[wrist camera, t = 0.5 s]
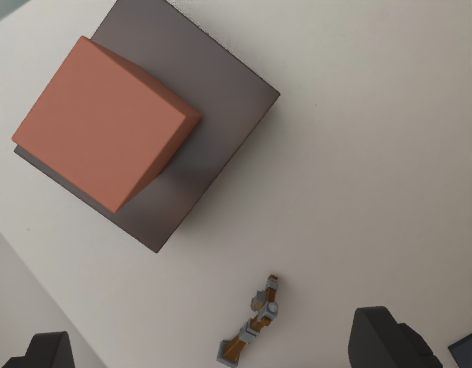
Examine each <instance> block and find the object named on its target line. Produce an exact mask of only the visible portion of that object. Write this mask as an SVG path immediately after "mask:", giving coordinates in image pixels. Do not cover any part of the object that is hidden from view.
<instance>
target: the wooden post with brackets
mask: <svg viewBox="0 0 472 368" xmlns="http://www.w3.org/2000/svg"><path fill="white" fill-rule="evenodd" d="M277 279H278V278H277V277H275V276H274V275H272V274H271V275H270V276H269V278H268V281H267V284H266V288H265V291H266V292H265V291H263V292H260V291H257V295H256V297H255V298H252V302H251V309H252V310H253V311H258V315H257V316H256V317H254V318H253V319H251V318H250V319H249V320H248V322H247V323H246V324H245V326H244V327H243V328H241V329H240V333H239V334H238V335H237V336H236V337H235V338H234V339H232V340H231V341H230V342H226V341H224V340H223V342H221V344H220V348H219V352H218V356H217V360H216V361H218V362H220V363H222V364H224V365H227V366H229V367H231V368H236V367H237V366H238V361H239V356H240V353H241V351H242V349H243V348H244V346H245V345H246V344H247V343H248V344H250V342H251V341H252V340H253V339H254V338H256V336H257V335H258V334H260V330H261V329H262V328H263V327H264V326H268V325H269V324H270V323H271V321H272V320H274V319H275V318H277V312H278V305H277V303H275V302H274V298H275V292H276V291H277V286H278V284H277Z"/></svg>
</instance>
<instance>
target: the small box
mask: <svg viewBox="0 0 472 368" xmlns="http://www.w3.org/2000/svg"><path fill="white" fill-rule="evenodd" d="M201 117H202V115H201V114H200V113H199V112H197V111H196V110H195V109H193V108H192V107H191V106H190V105H188V104H187V103H186V102H184V101H183V100H182V99H181V98H179V97H178V96H177V95H175V94H174V93H173V92H172V91H170V90H169V89H168V88H166V87H165V86H164V85H163V84H161V83H160V82H159V81H157V80H156V79H155V78H154V77H152V76H151V75H150V74H149V73H147V72H146V71H145V70H143V69H142V68H141V67H140V66H138V65H137V64H135V63H133V62H131V61H129V60H128V59H126V58H124V57H122V56H120V55H118V54H116V53H114V52H113V51H111V50H109V49H107V48H105V47H103V46H101V45H100V44H98V43H96V42H94V41H92V40H90V39H88V38H87V37H85V36H81V37H80V38H79V40H78V41H77V43H76V44H75V46H74V47H73V49H72V50H71V52H70V53H69V54H68V56H67V57H66V59H65V60H64V62H63V63H62V65H61V66H60V68H59V69H58V71H57V72H56V74H55V75H54V76H53V78H52V79H51V81H50V82H49V84H48V85H47V87H46V88H45V90H44V91H43V93H42V94H41V96H40V97H39V98H38V100H37V101H36V103H35V104H34V106H33V107H32V109H31V110H30V112H29V113H28V115H27V116H26V118H25V119H24V120H23V122H22V123H21V125H20V126H19V128H18V129H17V131H16V132H15V134H14V135H13V137H12V138H11V139H12V141H14V142H15V143H17V144H18V145H19V146H21V147H22V148H23V149H25V150H26V151H28V152H29V153H30V154H32V155H33V156H35V157H36V158H37V159H39V160H40V161H42V162H43V163H44V164H46V165H47V166H49V167H50V168H51V169H53V170H54V171H56V172H57V173H58V174H60V175H61V176H62V177H64V178H65V179H67V180H68V181H69V182H71V183H72V184H74V185H75V186H76V187H78V188H79V189H81V190H82V191H83V192H85V193H86V194H88V195H89V196H90V197H92V198H93V199H95V200H96V201H97V202H99V203H100V204H101V205H103V206H104V207H106V208H107V209H108V210H110V211H111V212H113V213H117V212H118V211H119V210H120V209H121V208H122V207H123V206H125V205H126V204H127V203H128V202H129V201H130V200H131V199H133V198H134V197H135V196H136V195H137V194H138V193H139V192H141V191H142V190H143V189H144V188H145V187H146V186H147V185H149V184H150V183H151V182H152V181H153V180H154V179H155V178H156V177H157V176H158V175H159V173H160V172H161V171H162V169H163V168H164V167H165V165H166V164H167V163H168V161H169V160H170V159H171V157H172V156H173V155H174V153H175V152H176V151H177V149H178V148H179V147H180V145H181V144H182V143H183V141H184V140H185V139H186V137H187V136H188V135H189V133H190V132H191V131H192V129H193V128H194V127H195V125H196V124H197V123H198V121H199V120H200V119H201Z"/></svg>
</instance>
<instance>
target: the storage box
mask: <svg viewBox="0 0 472 368" xmlns="http://www.w3.org/2000/svg"><path fill="white" fill-rule="evenodd" d="M90 40H92V41H94V42H96V43H98V44H100V45H101V46H103V47H105V48H107V49H109V50H111V51H113V52H114V53H116V54H118V55H120V56H122V57H124V58H126V59H128V60H129V61H131V62H133V63H135V64H137V65H138V66H140V67H141V68H142V69H143V70H145V71H146V72H147V73H149V74H150V75H151V76H152V77H154V78H155V79H156V80H157V81H159V82H160V83H161V84H163V85H164V86H165V87H166V88H168V89H169V90H170V91H172V92H173V93H174V94H175V95H177V96H178V97H179V98H181V99H182V100H183V101H184V102H186V103H187V104H188V105H190V106H191V107H192V108H193V109H195V110H196V111H197V112H199V113H200V114H201V115H202V117H201V119H200V120H199V121H198V123H197V124H196V125H195V127H194V128H193V129H192V131H191V132H190V133H189V135H188V136H187V137H186V139H185V140H184V141H183V143H182V144H181V145H180V147H179V148H178V149H177V151H176V152H175V153H174V155H173V156H172V157H171V159H170V160H169V161H168V163H167V164H166V165H165V167H164V168H163V169H162V171H161V172H160V173H159V175H158V176H157V177H156V178H155V179H154V180H153V181H152V182H151V183H150V184H149V185H147V186H146V187H145V188H144V189H143V190H142V191H141V192H139V193H138V194H137V195H136V196H135V197H134V198H133V199H131V200H130V201H129V202H128V203H127V204H126V205H125V206H123V207H122V208H121V209H120V210H119V211H118V212H117V213H113V212H111V211H110V210H108V209H107V208H106V207H104V206H103V205H101V204H100V203H99V202H97V201H96V200H95V199H93V198H92V197H90V196H89V195H88V194H86V193H85V192H83V191H82V190H81V189H79V188H78V187H76V186H75V185H74V184H72V183H71V182H69V181H68V180H67V179H65V178H64V177H62V176H61V175H60V174H58V173H57V172H56V171H54V170H53V169H51V168H50V167H49V166H47V165H46V164H44V163H43V162H42V161H40V160H39V159H37V158H36V157H35V156H33V155H32V154H30V153H29V152H28V151H26V150H25V149H23V148H22V147H21V146H19V145H17V147H16V148H15V150H14V152H15V153H16V154H18V155H19V156H20V157H22V158H23V159H25V160H26V161H27V162H29V163H30V164H32V165H33V166H34V167H36V168H37V169H39V170H40V171H41V172H43V173H44V174H46V175H47V176H48V177H50V178H51V179H53V180H54V181H55V182H57V183H58V184H60V185H61V186H62V187H64V188H65V189H67V190H68V191H69V192H71V193H72V194H74V195H75V196H76V197H78V198H79V199H81V200H82V201H83V202H85V203H86V204H88V205H89V206H90V207H92V208H93V209H95V210H96V211H97V212H99V213H100V214H102V215H103V216H104V217H106V218H107V219H109V220H110V221H111V222H113V223H114V224H116V225H117V226H118V227H120V228H121V229H123V230H124V231H125V232H127V233H128V234H130V235H131V236H132V237H134V238H135V239H137V240H138V241H139V242H141V243H142V244H144V245H145V246H146V247H148V248H149V249H151V250H152V251H153V252H155V253H158V252H159V250H160V249H161V248H162V247H163V245H164V244H165V243H166V241H167V240H168V239H169V238H170V236H171V235H172V234H173V232H174V231H175V230H176V229H177V227H178V226H179V225H180V223H181V222H182V221H183V220H184V218H185V217H186V216H187V214H188V213H189V212H190V211H191V209H192V208H193V207H194V205H195V204H196V203H197V202H198V200H199V199H200V198H201V196H202V195H203V194H204V193H205V191H206V190H207V189H208V187H209V186H210V185H211V184H212V182H213V181H214V180H215V178H216V177H217V176H218V175H219V173H220V172H221V171H222V169H223V168H224V167H225V166H226V164H227V163H228V162H229V160H230V159H231V158H232V157H233V155H234V154H235V153H236V151H237V150H238V149H239V148H240V146H241V145H242V144H243V142H244V141H245V140H246V139H247V137H248V136H249V135H250V133H251V132H252V131H253V130H254V128H255V127H256V126H257V124H258V123H259V122H260V121H261V119H262V118H263V117H264V115H265V114H266V113H267V112H268V110H269V109H270V108H271V106H272V105H273V104H274V103H275V101H276V100H277V99H278V97H279V96H280V93H279V92H278V91H277V90H275V89H274V88H273V87H272V86H271V85H269V84H268V83H267V82H266V81H264V80H263V79H262V78H261V77H259V76H258V75H257V74H256V73H255V72H253V71H252V70H251V69H250V68H248V67H247V66H246V65H245V64H243V63H242V62H241V61H240V60H239V59H237V58H236V57H235V56H234V55H232V54H231V53H230V52H229V51H227V50H226V49H225V48H224V47H223V46H221V45H220V44H219V43H218V42H216V41H215V40H214V39H213V38H211V37H210V36H209V35H208V34H207V33H205V32H204V31H203V30H202V29H200V28H199V27H198V26H197V25H195V24H194V23H193V22H192V21H191V20H189V19H188V18H187V17H186V16H184V15H183V14H182V13H181V12H179V11H178V10H177V9H176V8H175V7H173V6H172V5H171V4H170V3H168V2H167V1H166V0H117V1H116V3H115V4H114V6H113V7H112V8H111V10H110V11H109V13H108V14H107V16H106V17H105V19H104V20H103V22H102V23H101V24H100V26H99V27H98V29H97V30H96V32H95V33H94V35H93V36H92V38H91V39H90Z"/></svg>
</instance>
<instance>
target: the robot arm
mask: <svg viewBox="0 0 472 368" xmlns="http://www.w3.org/2000/svg"><path fill="white" fill-rule="evenodd" d="M348 355H349V361H350V364H351V367H352V368H443V365H442V364H441V363H440V361H439V360H438V358H437V357H436V356H434V355H433V352H432V350H431V349H430V348H429V346H428V345H427V343H426V342H425V341H424V339H423V338H422V337H421V336H420V335H419V334H418V333H416V332H415V331H414V330H413V329H411V328H410V327H409V326H408V325H406V324H405V323H400V324H397V322H396V321H395V319H394V318H393V317H392V315H391V314H390V312H389V311H388V309H387V308H386V307H384V306H375V307H363V308H357V309H356V311H355V315H354V320H353V325H352V330H351V335H350V340H349V345H348ZM2 368H75V365H74V359H73V355H72V350H71V345H70V340H69V336H68V333H67V332H66V331H63V332H51V333H38V334H35V335H34V336H33V338H32V340H31V342H30V345H29V347H28V349H27V352H26V354H25V356H22V357H11V358H10V359H9V360H8V362H7V363H6V364H5V365H4V366H3V367H2Z"/></svg>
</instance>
